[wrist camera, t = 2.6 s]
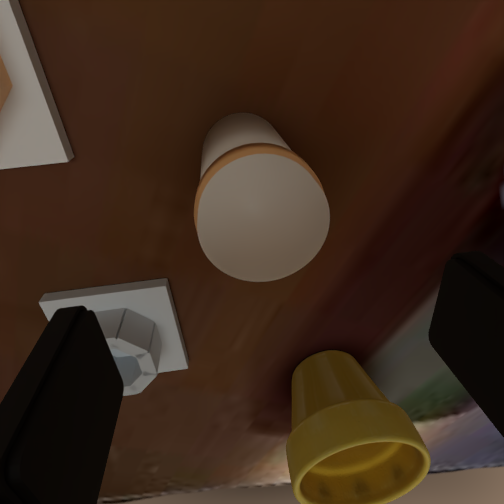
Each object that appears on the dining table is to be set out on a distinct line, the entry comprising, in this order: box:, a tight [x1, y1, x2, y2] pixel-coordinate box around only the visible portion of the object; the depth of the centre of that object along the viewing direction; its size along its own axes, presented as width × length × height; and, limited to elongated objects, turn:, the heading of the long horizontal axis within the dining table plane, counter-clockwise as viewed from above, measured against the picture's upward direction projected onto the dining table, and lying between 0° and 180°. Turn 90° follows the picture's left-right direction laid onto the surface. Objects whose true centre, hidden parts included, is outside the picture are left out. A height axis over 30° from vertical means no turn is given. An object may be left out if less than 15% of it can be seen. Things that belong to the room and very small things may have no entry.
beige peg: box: [194, 113, 330, 282], centre depth 17 cm, size 5×5×10 cm
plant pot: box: [286, 350, 430, 504], centre depth 29 cm, size 10×10×10 cm
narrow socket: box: [39, 278, 189, 396], centre depth 26 cm, size 9×9×4 cm
